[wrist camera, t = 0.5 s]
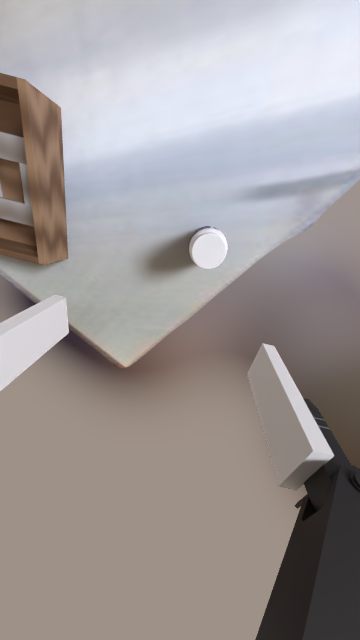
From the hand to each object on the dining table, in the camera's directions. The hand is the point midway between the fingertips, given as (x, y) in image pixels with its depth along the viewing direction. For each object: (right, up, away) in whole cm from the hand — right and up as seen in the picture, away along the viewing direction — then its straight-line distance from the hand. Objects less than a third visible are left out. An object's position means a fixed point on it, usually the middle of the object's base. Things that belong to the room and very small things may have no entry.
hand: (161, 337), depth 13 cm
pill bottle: (+6, +15, +22) cm, 27 cm away
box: (-26, +25, +20) cm, 42 cm away
